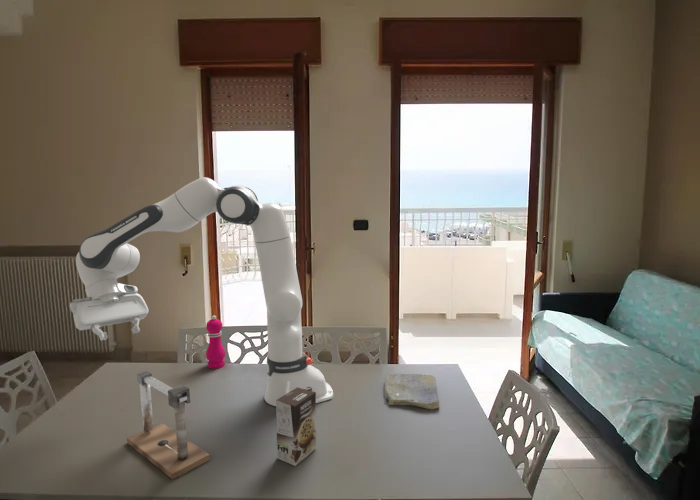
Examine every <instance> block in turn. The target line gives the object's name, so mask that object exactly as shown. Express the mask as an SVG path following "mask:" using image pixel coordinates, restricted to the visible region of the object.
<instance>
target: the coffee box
mask: <svg viewBox="0 0 700 500" xmlns="http://www.w3.org/2000/svg"><path fill="white" fill-rule="evenodd" d="M316 406H317V403H316V392H313V391H310V390H306V389H301V388H298V387H297V388H295V389H294V390H292V391H290V392H289V393H287V394H286V395H284V396H282V397H281V398H279V399H277V400H276V406H275V408H276V409H275V411H276V413H275V416H276V417H275V418H276V459H278V460H280V461H282V462H285V463H287V464H289V465H292V466H294V467H296V466H297V465H299V464H300V463H301V462H302V461H303V460H304V459H306V458H307V457H308V456H310V455H311V454H312V453H313V452H314V451H315V450H317V407H316Z"/></svg>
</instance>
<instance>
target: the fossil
mask: <svg viewBox="0 0 700 500" xmlns="http://www.w3.org/2000/svg"><path fill="white" fill-rule="evenodd" d="M384 378H385V379H384V380H385V381H384V400H383V402H384V405H387V406H389V405H390V406H394V405H395V406H396V405H397V406H398V405H399V406H414V407H419V408H422V409H427V410H430V411H431V410H436V409H439V408H440V399H439V394H438V388H437V380H436V377H435V376H433V375H431V374H422V373H421V374H418V373H415V374H412V373H411V374H410V373H409V374H406V373H386V374H385V377H384Z"/></svg>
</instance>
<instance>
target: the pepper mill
mask: <svg viewBox="0 0 700 500" xmlns="http://www.w3.org/2000/svg"><path fill="white" fill-rule="evenodd" d="M205 327H206V331H208V332H207V336H208V339H209V344H208V346H207V348H206V349H207V350H206V353H205V358H206V359H207V360H208V361H207V368H209V369H213V370H215V369H220V368H222V367H224V366H225V364H226V362H225V357H226V350H225V347H224V345H223V344H222V340H221V339H222V338H221V336H222V334H223V333H222V328H223V322H222V320H220V319H218V318H217V316H216V315H212V316H211V319H210V320H208V321H207V322H206V325H205Z"/></svg>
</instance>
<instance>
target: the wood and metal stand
mask: <svg viewBox="0 0 700 500" xmlns="http://www.w3.org/2000/svg"><path fill="white" fill-rule="evenodd" d="M172 388H173V389H170V390H168V396H167V398H168V406H170V407H172V408H173V409H174V419H175V430H174V429H172V428H170V427H169V426H167V425H166V424H165V423H163V422H161V423H159V424H157V425H153V430H151V431H150V432H144V431H143V430H142V431H140V432H137V433H135V434H133V435H131V436H127V438H126V441H127V444H128V445H129V446H131V447H132V448H133V449H134V450H136V451H137V452H138V453H139V454H140V455H141V456H143V457H144V458H145V459H147V460H148V461H149V462H151V463H152V464H153V465H154V466H155V467H157V468H158V469H159V470H160V471H161V472H162V473H164V474H165V475H167V476H168V477H169V478H170V479H171V480H175V479H177V478H178V477H181V476H183V475H184V474H186V473H188V472H190V471H192V470H193V469H195V468H197V467H199V466H201V465H203V464H205V463H207V462H209V461H210V460H211V459H210V454H209V453H208V452H206V451H205V450H204V449H202V448H200V446H198V445H196V444H194V443H193V442H192V441H190V440H189V439H188V436H187V432H188V431H187V420H186V418H187V417H186V404H190V403H191V393H190V391H191V390H190V388H189V387H188V386H186V385H184V384H181V385H179V386H177V387H172ZM182 393H183V394H184V395H186V396H187V400H186V401H183V402H181V403H179V402H177V395H179V394H182Z"/></svg>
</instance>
